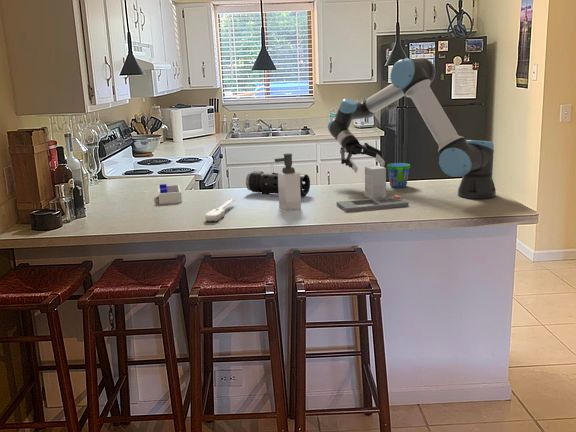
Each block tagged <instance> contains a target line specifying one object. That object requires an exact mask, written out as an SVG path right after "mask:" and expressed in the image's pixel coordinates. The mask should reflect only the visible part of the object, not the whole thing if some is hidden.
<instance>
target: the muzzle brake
mask: <svg viewBox="0 0 576 432" xmlns="http://www.w3.org/2000/svg"><path fill="white" fill-rule="evenodd" d="M278 173H279V172H264V171H258V170H257V171H254V170H253V171H251V172H248V174H247V175H246V179H245V187H246V188H247V190H248V191H249V192H250V191H251V192H252V193H261V194H262V195H265V194H266V195H267V196H268V195H271V194H277V195H279V190H278ZM310 188H311V178H310V176H309V175H308V174H307V173H306V174H305V173H303V174H302V173H300V194H301V197H303V198H305V197H306V196H307V195H308V194H309V192H310Z"/></svg>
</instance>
